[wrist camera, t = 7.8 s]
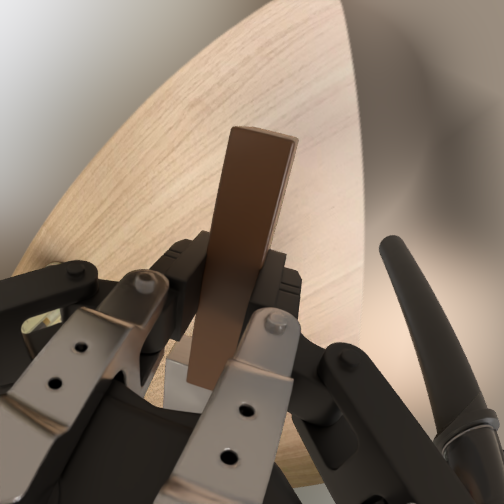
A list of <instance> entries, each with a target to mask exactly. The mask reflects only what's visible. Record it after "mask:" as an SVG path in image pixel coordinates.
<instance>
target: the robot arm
mask: <svg viewBox="0 0 504 504" xmlns="http://www.w3.org/2000/svg"><path fill="white" fill-rule="evenodd" d="M209 234H210V232H207V231H203V230H202V231H201V232H200V233H199V234H198V236H197V237H196V238H195V239H194V240H193V241H192V240H188V239H184V240H181V241H178V242H176V243H174V244H173V245H172V246H171V247H170V248H169V250H167V251H166V252H165V253H164V255H162V256H161V257H160V258H159V259H158V260H157V261H156V262H155V263H154V264H153V265H152V267H151V268H150V269H149V270H148V269H139V270H134V271H131V272H129V273H127V274H126V275H125V276H124V277H123V278H122V279H121V280H120V281H119V282H117V281H109V280H101V279H98V270H97V268H96V266H95V265H93V264H92V263H90V262H87V261H82V260H74V261H68V262H64V263H61V264H57V265H53V266H50V267H46V268H42V269H39V270H35V271H32V272H28V273H24V274H21V275H17V276H14V277H10V278H7V279H4V280H0V504H302V503H301V501H300V500H299V498H298V496H297V495H296V493H295V492H294V490H293V488H292V487H291V485H290V484H289V482H288V480H287V479H286V477H285V475H284V474H283V472H282V471H281V469H280V468H279V467H278V465H277V464H276V463H275V462H274V460H275V457H276V453H277V449H278V445H279V441H280V437H281V434H282V430H283V426H284V422H285V417H286V413H287V412H289V413H291V414H292V420H293V423H294V425H295V427H296V429H297V431H298V433H299V435H300V437H301V439H302V441H303V443H304V445H305V447H306V449H307V451H308V452H309V454H310V456H311V458H312V460H313V462H314V464H315V466H316V468H317V470H318V472H319V474H320V475H321V477H322V479H323V481H324V483H325V485H326V487H327V489H328V490H329V492H330V494H331V496H332V498H333V500H334V501H335V503H336V504H504V450H502V447H501V443H500V440H499V437H498V434H497V431H496V429H493V426H492V425H491V424H489V423H482V424H477V425H474V426H471V427H469V428H466V429H464V430H462V431H460V432H459V433H457V434H456V435H454V436H453V437H451V438H450V439H449V440H448V441H447V442H446V443H445V444H444V446H443V448H442V453H443V456H444V457H443V456H442V454H441V453H440V451H439V450H438V449H437V447H436V446H435V445H434V443H433V442H432V440H431V439H430V438H429V436H428V435H427V434H426V432H425V431H424V430H423V428H422V427H421V425H420V424H419V423H418V421H417V420H416V419H415V417H414V416H413V415H412V413H411V412H410V411H409V409H408V408H407V407H406V405H405V404H404V403H403V401H402V400H401V399H400V397H399V396H398V395H397V393H396V392H395V391H394V389H393V388H392V387H391V385H390V384H389V383H388V381H387V380H386V379H385V377H384V376H383V375H382V374H381V372H380V371H379V370H378V368H377V367H376V366H375V364H374V363H373V362H372V360H371V359H370V358H369V357H368V355H367V354H366V353H365V352H364V351H362V350H361V349H360V348H358V347H356V346H354V345H352V344H348V343H342V342H339V343H333V344H331V345H329V346H328V347H327V348H326V350H325V349H323V348H321V347H319V346H317V345H316V344H314V343H312V342H310V341H309V340H308V339H307V338H305V337H304V336H303V334H302V333H301V326H300V324H299V322H298V312H299V303H300V294H301V284H302V279H301V277H300V275H299V273H298V271H296V270H293V269H289V268H286V267H284V265H285V260H286V255H287V254H285V253H281V252H278V251H274V250H271V249H269V250H268V253H267V256H266V259H265V262H264V265H263V268H262V269H260V272H259V275H258V277H257V280H256V283H255V286H254V289H253V291H252V294H251V297H250V300H249V303H248V307H247V310H246V314H245V318H244V322H243V325H242V329H241V333H240V337H239V340H238V344H237V348H236V351H235V353H234V355H233V357H232V358H229V359H228V361H227V362H226V364H225V366H224V369H223V371H222V373H221V375H220V377H219V379H218V381H217V383H216V385H215V387H214V389H213V391H212V393H211V395H210V398H209V400H208V402H207V404H206V406H205V408H204V410H203V412H202V413H193V412H185V411H178V410H171V409H165V408H159V407H156V406H154V405H152V404H150V403H149V402H148V401H146V400H145V399H144V396H145V393H146V391H147V389H148V387H149V385H150V383H151V381H152V379H153V376H154V374H155V372H156V370H157V368H158V366H159V364H160V362H161V360H162V358H163V355H164V351H165V345H166V344H167V342H168V340H169V339H173V340H175V341H178V342H180V340H181V338H182V336H183V335H184V333H185V331H186V329H187V328H188V326H189V324H190V322H191V321H192V319H193V317H194V315H195V314H196V312H197V310H198V303H199V297H200V292H201V286H202V280H203V274H204V269H205V263H206V257H207V253H206V251H207V245H208V240H209ZM56 309H60V314H61V320H62V322H60V323H57V324H54V325H51V326H48V327H45V328H42V329H40V330H37V331H34V332H31V333H27V334H26V333H22V331H21V327H22V324H23V323H24V322H25V321H26V320H27V319H29V318H32V317H35V316H38V315H41V314H44V313H47V312H50V311H53V310H56Z"/></svg>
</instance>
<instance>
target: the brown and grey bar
mask: <svg viewBox="0 0 504 504" xmlns="http://www.w3.org/2000/svg"><path fill="white" fill-rule="evenodd" d="M298 141H299V140H298V138H297V137H293V136H289V135H285V134H281V133H277V132H273V131H269V130H265V129H261V128H256V127H242V126H235V127H232V128H231V131H230V136H229V141H228V145H227V150H226V154H225V159H224V164H223V168H222V173H221V178H220V183H219V188H218V193H217V198H216V203H215V208H214V213H213V218H212V224H211V229H210V234H209V240H208V245H207V251H206V253H207V257H206V263H205V269H204V274H203V280H202V286H201V292H200V297H199V303H198V310H197V312H196V316H195V322H194V329H193V335H192V337H190V336H187V335H183V336H182V338H181V340H180V342H178V341H176V343H175V344H174V346H173V347H172V349H171V351H170V352H169V354H168V356H167V357H166V365H165V381H164V400H163V408H165V409H171V410H178V411H185V412H193V413H202V412H203V410H204V408H205V406H206V404H207V402H208V400H209V398H210V395H211V393H212V391H213V389H214V387H215V385H216V383H217V381H218V379H219V377H220V375H221V373H222V371H223V369H224V366H225V364H226V362H227V361H228V359H229V358H232V357H233V355H234V353H235V351H236V348H237V344H238V340H239V337H240V333H241V329H242V325H243V322H244V318H245V314H246V310H247V307H248V303H249V300H250V297H251V294H252V291H253V289H254V286H255V283H256V280H257V277H258V275H259V272H260V269H262V268H263V265H264V262H265V259H266V256H267V253H268V250H269V249H270V247H271V243H272V240H273V236H274V232H275V229H276V225H277V221H278V217H279V214H280V210H281V206H282V203H283V199H284V195H285V191H286V187H287V184H288V180H289V176H290V172H291V168H292V165H293V161H294V157H295V153H296V149H297V145H298Z"/></svg>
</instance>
